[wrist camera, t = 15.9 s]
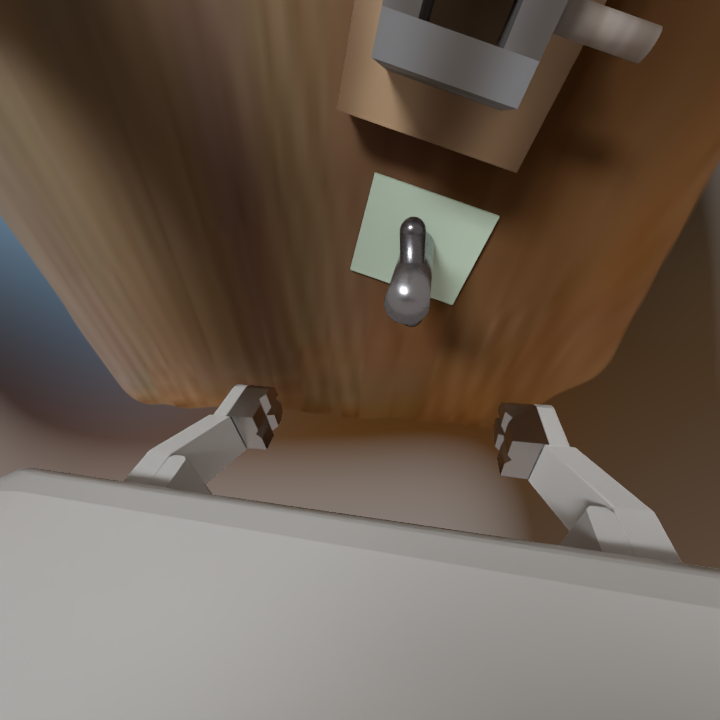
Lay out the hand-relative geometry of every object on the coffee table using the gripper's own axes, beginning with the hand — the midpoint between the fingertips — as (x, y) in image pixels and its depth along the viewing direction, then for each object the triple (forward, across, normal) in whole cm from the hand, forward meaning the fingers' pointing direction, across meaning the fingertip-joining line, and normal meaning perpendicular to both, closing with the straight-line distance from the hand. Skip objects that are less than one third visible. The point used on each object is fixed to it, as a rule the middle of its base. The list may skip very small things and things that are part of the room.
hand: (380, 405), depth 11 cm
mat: (+19, -1, 0) cm, 19 cm away
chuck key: (+19, -1, 0) cm, 19 cm away
